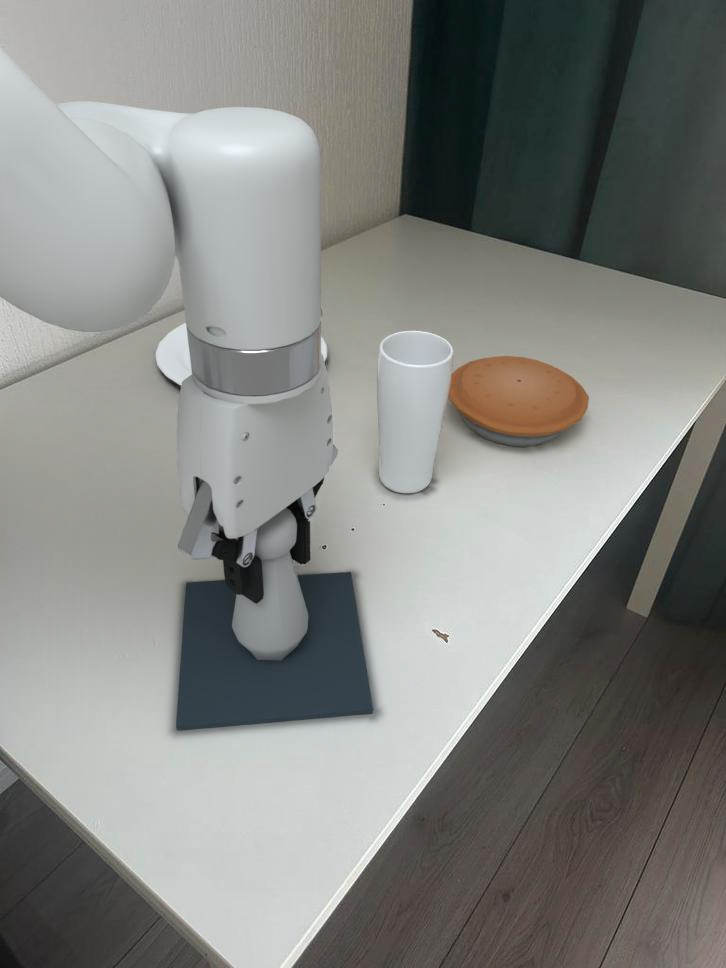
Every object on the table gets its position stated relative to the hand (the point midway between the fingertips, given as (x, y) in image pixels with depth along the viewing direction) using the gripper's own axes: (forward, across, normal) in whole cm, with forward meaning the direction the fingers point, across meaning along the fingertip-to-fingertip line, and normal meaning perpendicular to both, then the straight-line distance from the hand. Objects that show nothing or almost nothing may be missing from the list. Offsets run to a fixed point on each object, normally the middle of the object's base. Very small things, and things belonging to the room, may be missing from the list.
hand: (268, 571), depth 56 cm
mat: (+8, 0, 0) cm, 8 cm away
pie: (+9, -41, -2) cm, 42 cm away
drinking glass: (+9, -24, -4) cm, 26 cm away
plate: (+9, -30, -33) cm, 46 cm away
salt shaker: (+8, 0, 0) cm, 8 cm away
